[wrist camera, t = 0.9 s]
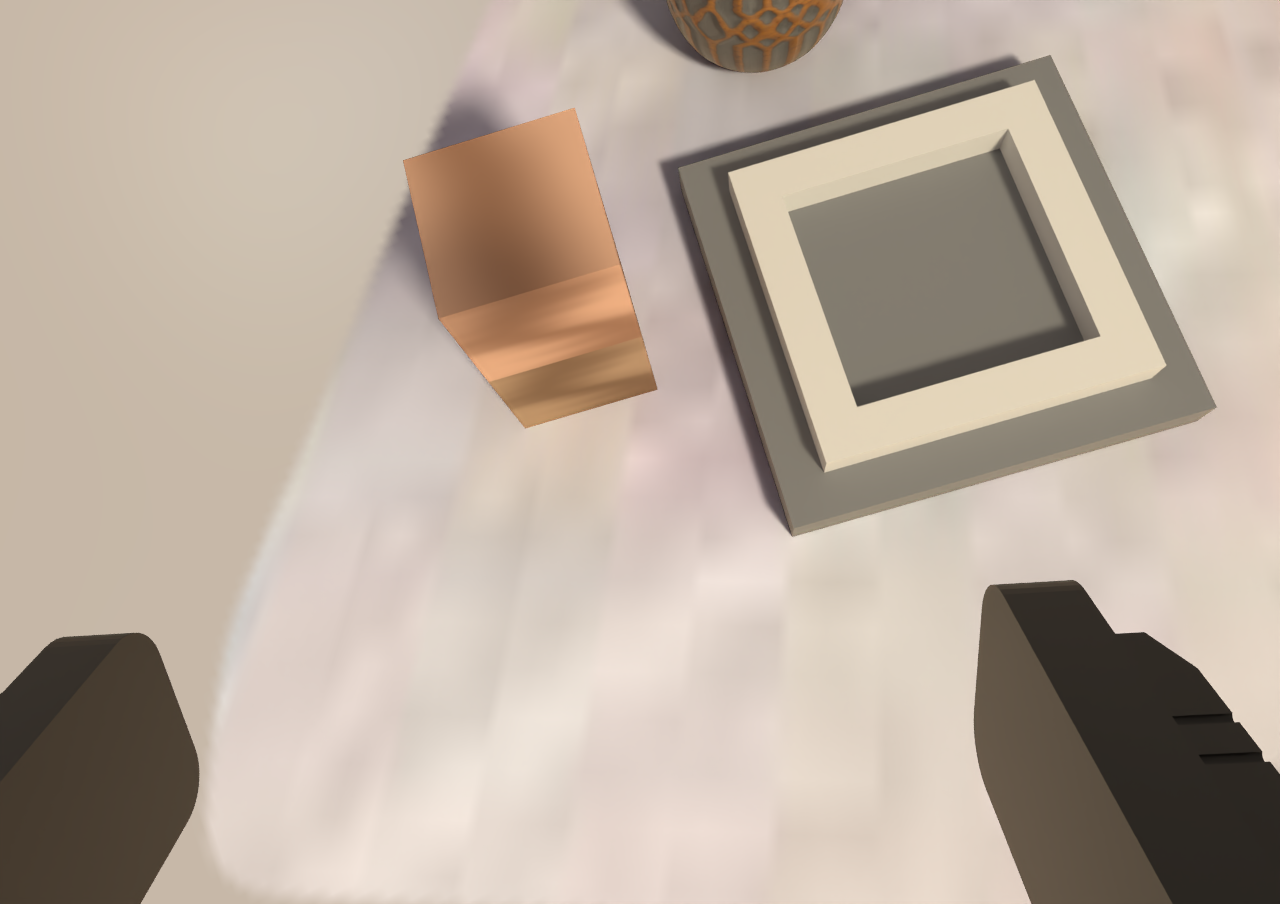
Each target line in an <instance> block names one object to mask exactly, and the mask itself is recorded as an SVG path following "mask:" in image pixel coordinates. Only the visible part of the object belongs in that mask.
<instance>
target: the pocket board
mask: <svg viewBox="0 0 1280 904" xmlns="http://www.w3.org/2000/svg"><path fill="white" fill-rule="evenodd" d="M678 170H679V177H680V184H681V190H682V193H683V196H684V199H685V202H686V206H687V209H688V212H689V215H690V218H691V221H692V224H693V228H694V231H695V234H696V237H697V240H698V243H699V246H700V249H701V253H702V256H703V259H704V262H705V265H706V268H707V271H708V275H709V278H710V281H711V284H712V287H713V290H714V293H715V296H716V300H717V303H718V306H719V309H720V312H721V315H722V318H723V321H724V325H725V328H726V331H727V334H728V337H729V340H730V343H731V347H732V350H733V353H734V356H735V359H736V362H737V365H738V368H739V372H740V375H741V378H742V381H743V384H744V387H745V390H746V393H747V397H748V400H749V403H750V406H751V409H752V412H753V415H754V419H755V422H756V425H757V428H758V431H759V434H760V437H761V440H762V444H763V447H764V450H765V453H766V456H767V459H768V462H769V466H770V469H771V472H772V475H773V478H774V481H775V484H776V487H777V491H778V494H779V497H780V500H781V503H782V506H783V509H784V512H785V516H786V519H787V522H788V525H789V528H790V531H791V534H792V537H793V536H797V535H800V534H804V533H807V532H811V531H814V530H818V529H821V528H825V527H828V526H832V525H835V524H839V523H842V522H846V521H849V520H853V519H856V518H860V517H863V516H867V515H870V514H874V513H877V512H881V511H884V510H888V509H891V508H895V507H898V506H902V505H905V504H909V503H912V502H916V501H919V500H923V499H926V498H930V497H933V496H937V495H940V494H944V493H947V492H951V491H954V490H958V489H961V488H965V487H968V486H972V485H975V484H979V483H982V482H986V481H989V480H993V479H996V478H1000V477H1003V476H1007V475H1010V474H1014V473H1017V472H1021V471H1024V470H1028V469H1031V468H1035V467H1038V466H1042V465H1045V464H1049V463H1052V462H1056V461H1059V460H1063V459H1066V458H1069V457H1073V456H1076V455H1080V454H1083V453H1087V452H1090V451H1094V450H1097V449H1101V448H1104V447H1108V446H1111V445H1115V444H1118V443H1122V442H1125V441H1129V440H1132V439H1136V438H1139V437H1143V436H1146V435H1150V434H1153V433H1157V432H1160V431H1164V430H1167V429H1171V428H1174V427H1178V426H1181V425H1185V424H1188V423H1192V422H1195V421H1197V420H1199V419H1200V418H1202V417H1203V416H1205V415H1206V414H1208V413H1209V412H1211V411H1212V410H1213V409H1215V408H1216V405H1215V403H1214V400H1213V398H1212V396H1211V394H1210V392H1209V390H1208V388H1207V386H1206V383H1205V381H1204V379H1203V377H1202V375H1201V373H1200V371H1199V369H1198V367H1197V364H1196V362H1195V360H1194V358H1193V356H1192V354H1191V352H1190V350H1189V347H1188V345H1187V343H1186V341H1185V339H1184V337H1183V335H1182V333H1181V331H1180V328H1179V326H1178V324H1177V322H1176V320H1175V318H1174V316H1173V314H1172V311H1171V309H1170V307H1169V305H1168V303H1167V301H1166V299H1165V297H1164V295H1163V292H1162V290H1161V288H1160V286H1159V284H1158V282H1157V280H1156V278H1155V275H1154V273H1153V271H1152V269H1151V267H1150V265H1149V263H1148V261H1147V259H1146V256H1145V254H1144V252H1143V250H1142V248H1141V246H1140V244H1139V242H1138V239H1137V237H1136V235H1135V233H1134V231H1133V229H1132V227H1131V225H1130V223H1129V220H1128V218H1127V216H1126V214H1125V212H1124V210H1123V208H1122V206H1121V203H1120V201H1119V199H1118V197H1117V195H1116V193H1115V191H1114V189H1113V187H1112V184H1111V182H1110V180H1109V178H1108V176H1107V174H1106V172H1105V170H1104V167H1103V165H1102V163H1101V161H1100V159H1099V157H1098V155H1097V153H1096V151H1095V148H1094V146H1093V144H1092V142H1091V140H1090V138H1089V136H1088V134H1087V131H1086V129H1085V127H1084V125H1083V123H1082V121H1081V119H1080V117H1079V114H1078V112H1077V110H1076V108H1075V106H1074V104H1073V102H1072V100H1071V98H1070V95H1069V93H1068V91H1067V89H1066V87H1065V85H1064V83H1063V81H1062V78H1061V76H1060V74H1059V72H1058V70H1057V68H1056V66H1055V64H1054V62H1053V59H1052V57H1051V55H1049V56H1046V57H1043V58H1039V59H1036V60H1033V61H1029V62H1026V63H1023V64H1019V65H1016V66H1013V67H1010V68H1006V69H1003V70H1000V71H996V72H993V73H990V74H986V75H983V76H980V77H977V78H973V79H970V80H967V81H963V82H960V83H957V84H953V85H950V86H947V87H943V88H940V89H937V90H934V91H930V92H927V93H924V94H920V95H917V96H914V97H910V98H907V99H904V100H901V101H897V102H894V103H891V104H887V105H884V106H881V107H877V108H874V109H871V110H868V111H864V112H861V113H858V114H854V115H851V116H848V117H844V118H841V119H838V120H835V121H831V122H828V123H825V124H821V125H818V126H815V127H811V128H808V129H805V130H802V131H798V132H795V133H792V134H788V135H785V136H782V137H778V138H775V139H772V140H768V141H765V142H762V143H759V144H755V145H752V146H749V147H745V148H742V149H739V150H735V151H732V152H729V153H726V154H722V155H719V156H716V157H712V158H709V159H706V160H702V161H699V162H696V163H693V164H689V165H686V166H683V167H679V168H678Z"/></svg>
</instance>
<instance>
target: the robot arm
mask: <svg viewBox="0 0 1280 904" xmlns="http://www.w3.org/2000/svg"><path fill="white" fill-rule="evenodd" d="M974 736H975V745H976V752H977V757H978V763H979V767H980V771H981V775H982V778H983V782H984V784H985V787H986V790H987V792H988V795H989V797H990V800H991V803H992V805H993V808H994V810H995V813H996V815H997V818H998V820H999V823H1000V825H1001V828H1002V830H1003V833H1004V835H1005V838H1006V841H1007V843H1008V846H1009V848H1010V851H1011V853H1012V856H1013V858H1014V861H1015V863H1016V866H1017V868H1018V871H1019V873H1020V876H1021V878H1022V881H1023V884H1024V886H1025V889H1026V891H1027V894H1028V896H1029V899H1030V901H1031V904H1280V774H1279V773H1278V771H1277V770H1276V769H1275V767H1274V766H1273V765H1272V764H1271V762H1264V760H1263V757H1262V751H1261V749H1260V748H1259V747H1258V746H1257V744H1256V743H1255V742H1254V740H1253V739H1252V738H1251V737H1250V735H1249V734H1248V733H1247V731H1246V730H1245V729H1244V728H1243V726H1242V725H1241V724H1240V722H1236V723H1234V721H1233V718H1232V712H1231V711H1230V709H1229V708H1228V707H1227V706H1226V704H1225V703H1224V702H1223V700H1222V699H1221V698H1220V697H1219V695H1218V694H1217V693H1216V691H1215V690H1214V689H1213V688H1212V686H1211V685H1210V684H1209V682H1208V681H1207V680H1206V679H1205V677H1204V676H1203V675H1202V673H1201V672H1200V671H1199V670H1198V668H1196V667H1195V666H1193V665H1192V664H1190V663H1189V662H1187V661H1186V660H1185V659H1183V658H1182V657H1180V656H1179V655H1177V654H1176V653H1174V652H1173V651H1171V650H1170V649H1168V648H1167V647H1165V646H1164V645H1162V644H1161V643H1159V642H1158V641H1156V640H1155V639H1154V638H1152V637H1151V636H1149V635H1148V634H1146V633H1145V632H1141V633H1123V634H1115V633H1114V632H1113V630H1112V629H1111V627H1110V626H1109V624H1108V623H1107V621H1106V620H1105V619H1104V617H1103V616H1102V614H1101V613H1100V611H1099V610H1098V608H1097V607H1096V605H1095V604H1094V603H1093V601H1092V600H1091V598H1090V597H1089V595H1088V594H1087V592H1086V591H1085V590H1084V588H1083V587H1082V586H1081V585H1080V584H1079V583H1078V582H1076V581H1074V580H1067V581H1050V582H1033V583H1016V584H999V585H990V586H989V587H988V588H987V589H986V591H985V594H984V598H983V604H982V614H981V627H980V641H979V654H978V667H977V680H976V693H975V706H974ZM198 787H199V762H198V757H197V753H196V750H195V747H194V744H193V741H192V739H191V736H190V734H189V731H188V728H187V725H186V723H185V720H184V718H183V715H182V712H181V709H180V707H179V704H178V701H177V699H176V696H175V693H174V691H173V688H172V685H171V682H170V680H169V677H168V674H167V672H166V669H165V667H164V664H163V661H162V658H161V656H160V653H159V651H158V649H157V647H156V645H155V644H154V642H153V641H152V640H151V639H150V638H149V637H148V636H146V635H144V634H141V633H125V634H109V635H92V636H74V637H62V638H59V639H56V640H54V641H53V642H51V643H50V644H49V645H48V646H46V647H45V648H44V649H43V650H42V651H41V653H40V654H39V655H38V656H37V657H36V658H35V659H34V660H33V661H32V662H31V663H30V664H29V665H28V666H27V667H26V668H25V669H24V670H23V672H22V673H21V674H20V675H19V676H18V677H17V678H16V679H15V680H14V681H13V682H12V683H11V684H10V685H9V686H8V687H7V688H6V690H5V691H4V692H3V693H1V694H0V904H141V902H142V900H143V898H144V897H145V895H146V893H147V891H148V890H149V888H150V886H151V884H152V883H153V881H154V879H155V878H156V876H157V874H158V872H159V870H160V869H161V867H162V865H163V864H164V862H165V860H166V858H167V857H168V855H169V853H170V852H171V850H172V848H173V846H174V845H175V843H176V841H177V839H178V838H179V836H180V834H181V832H182V831H183V829H184V827H185V825H186V824H187V822H188V820H189V818H190V816H191V814H192V811H193V809H194V806H195V802H196V798H197V793H198Z"/></svg>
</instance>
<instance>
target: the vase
mask: <svg viewBox="0 0 1280 904" xmlns="http://www.w3.org/2000/svg"><path fill="white" fill-rule="evenodd" d="M842 3H843V0H667V4H668V7H669V10H670V12H671V14H672V16H673V19H674V21H675V23H676V25H677V26H678V28H679V30H680V31H681V33H682V34H683V36H684V37H685V39H686V40H687V41H688V42H689V44H690V45H691V46H692V47H693V48H694V49H695V50H696V51H697V52H698V53H699V54H701V55H702V56H703V57H704V58H706V59H707V60H709V61H711V62H713V63H715V64H717V65H719V66H721V67H724V68H727V69H730V70H734V71H739V72H748V73H757V72H765V71H770V70H774V69H778V68H780V67H783V66H785V65H788V64H790V63H792V62H794V61H796V60H797V59H799V58H800V57H802V56H804V55H805V54H806V53H808V52H809V51H810V50H811V49H812V48H813V47H814V46H815V45H816V44H817V43H818V42H819V41H820V40H821V38H822V37H823V36H824V35H825V33H826V32H827V31H828V29H829V28H830V26H831V24H832V23H833V21H834V19H835V18H836V16H837V14H838V12H839V10H840V7H841V5H842Z"/></svg>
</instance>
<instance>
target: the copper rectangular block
mask: <svg viewBox="0 0 1280 904" xmlns="http://www.w3.org/2000/svg"><path fill="white" fill-rule="evenodd" d="M403 162H404V167H405V171H406V176H407V180H408V185H409V189H410V194H411V198H412V202H413V207H414V211H415V216H416V220H417V225H418V229H419V234H420V238H421V243H422V247H423V252H424V256H425V261H426V265H427V270H428V274H429V279H430V283H431V287H432V292H433V296H434V301H435V305H436V310H437V314H438V319H439V320H440V321H441V322H442V324H443V325H444V326H445V327H446V329H447V330H448V331H449V333H450V334H451V335H452V336H453V338H454V339H455V340H456V341H457V343H458V344H459V345H460V346H461V348H462V349H463V350H464V351H465V353H466V354H467V355H468V357H469V358H470V359H471V360H472V362H473V363H474V364H475V365H476V367H477V368H478V369H479V370H480V372H481V373H482V374H483V375H484V377H485V378H486V379H487V380H488V382H489V383H490V384H491V386H492V387H493V388H494V389H495V391H496V392H497V393H498V394H499V396H500V397H501V398H502V399H503V401H504V402H505V403H506V404H507V406H508V407H509V408H510V410H511V411H512V412H513V413H514V415H515V416H516V417H517V418H518V420H519V421H520V422H521V423H522V425H523V426H524V427H525V428H528V427H531V426H535V425H538V424H542V423H545V422H548V421H552V420H555V419H559V418H562V417H565V416H569V415H572V414H576V413H579V412H582V411H586V410H589V409H593V408H596V407H599V406H603V405H606V404H610V403H613V402H616V401H620V400H623V399H627V398H630V397H633V396H637V395H640V394H644V393H647V392H651V391H654V390H657V386H656V382H655V379H654V375H653V372H652V369H651V365H650V362H649V358H648V355H647V351H646V348H645V344H644V341H643V338H642V334H641V331H640V327H639V324H638V320H637V317H636V314H635V310H634V307H633V303H632V300H631V296H630V293H629V289H628V286H627V283H626V279H625V276H624V272H623V269H622V265H621V262H620V259H619V255H618V252H617V249H616V245H615V242H614V239H613V235H612V232H611V228H610V225H609V222H608V218H607V215H606V212H605V208H604V205H603V202H602V198H601V195H600V192H599V188H598V185H597V181H596V178H595V175H594V171H593V168H592V165H591V161H590V158H589V155H588V151H587V148H586V145H585V141H584V138H583V135H582V131H581V128H580V124H579V121H578V118H577V114H576V111H575V108H572V109H569V110H566V111H563V112H559V113H556V114H553V115H550V116H546V117H543V118H540V119H537V120H533V121H530V122H527V123H523V124H520V125H517V126H514V127H510V128H507V129H504V130H501V131H497V132H494V133H491V134H488V135H484V136H481V137H478V138H475V139H471V140H468V141H465V142H461V143H458V144H455V145H452V146H448V147H445V148H442V149H439V150H435V151H432V152H429V153H426V154H422V155H419V156H416V157H413V158H409V159H406V160H403Z"/></svg>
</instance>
